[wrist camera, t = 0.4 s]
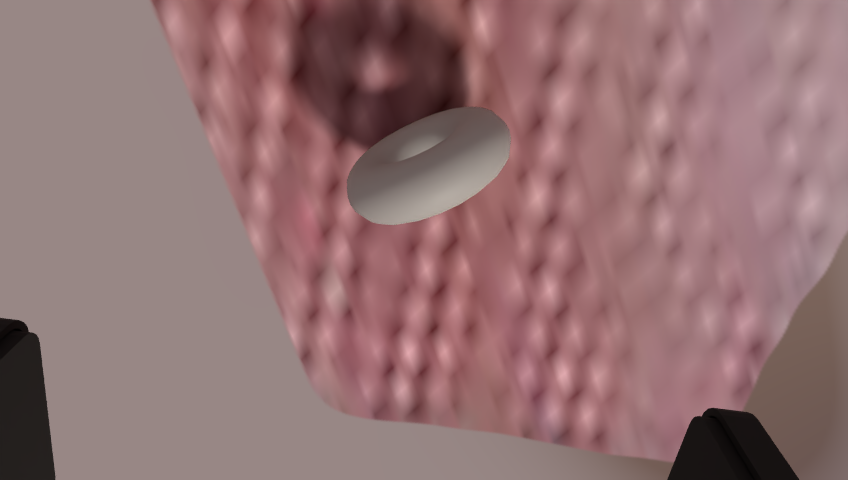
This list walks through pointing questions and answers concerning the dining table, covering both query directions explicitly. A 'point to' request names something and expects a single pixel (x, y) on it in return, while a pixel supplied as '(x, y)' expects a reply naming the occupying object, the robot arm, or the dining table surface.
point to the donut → (429, 166)
